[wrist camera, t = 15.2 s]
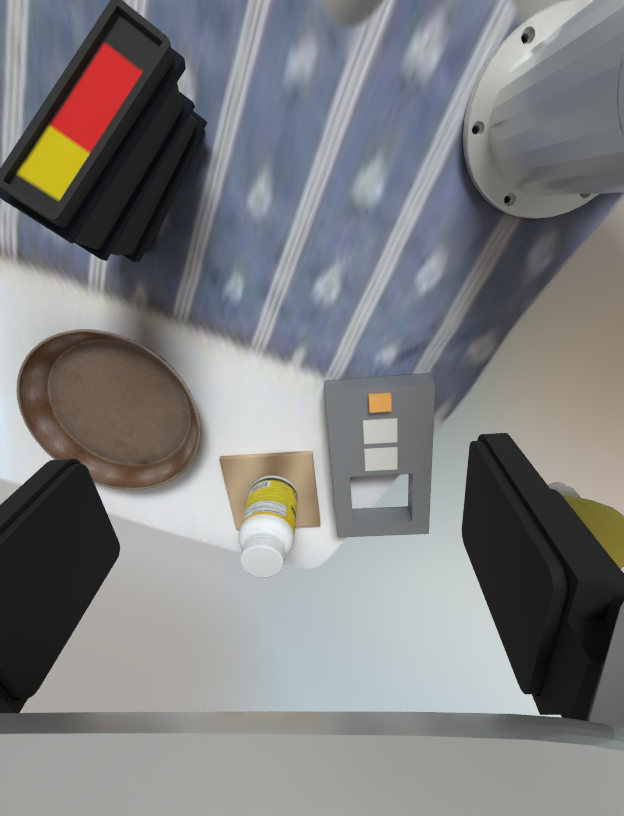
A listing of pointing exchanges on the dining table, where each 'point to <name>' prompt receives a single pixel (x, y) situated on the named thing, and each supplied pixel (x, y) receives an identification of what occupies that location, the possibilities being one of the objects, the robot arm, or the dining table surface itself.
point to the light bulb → (598, 521)
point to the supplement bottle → (268, 526)
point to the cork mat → (288, 465)
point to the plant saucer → (109, 408)
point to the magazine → (108, 140)
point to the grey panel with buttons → (381, 448)
